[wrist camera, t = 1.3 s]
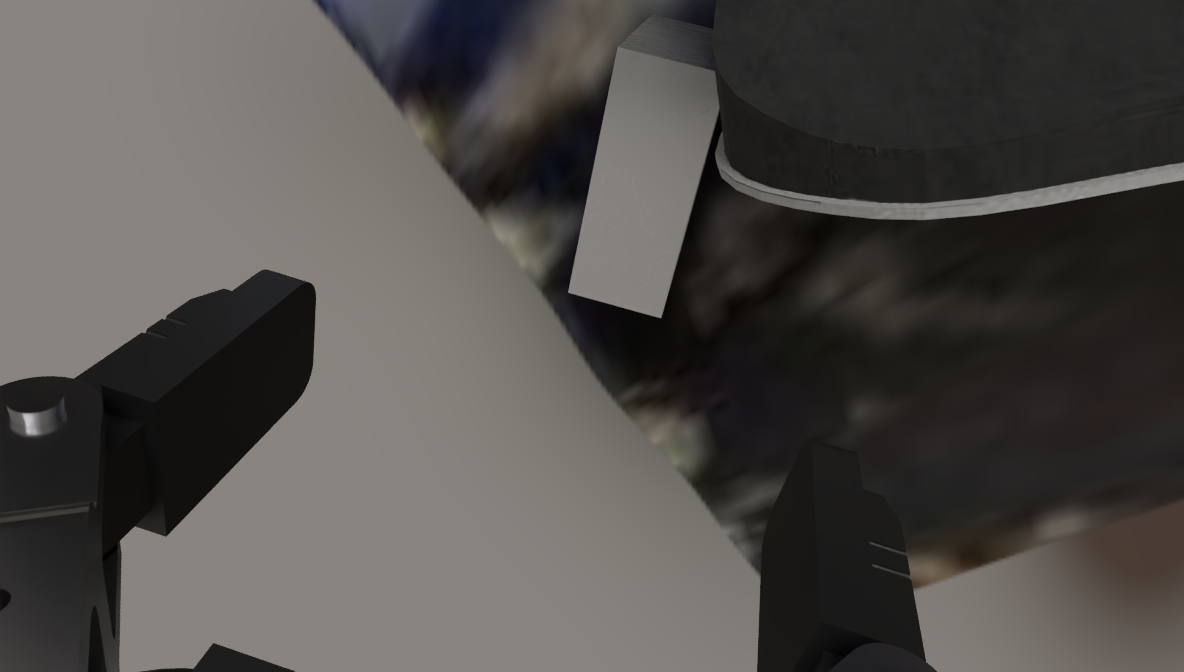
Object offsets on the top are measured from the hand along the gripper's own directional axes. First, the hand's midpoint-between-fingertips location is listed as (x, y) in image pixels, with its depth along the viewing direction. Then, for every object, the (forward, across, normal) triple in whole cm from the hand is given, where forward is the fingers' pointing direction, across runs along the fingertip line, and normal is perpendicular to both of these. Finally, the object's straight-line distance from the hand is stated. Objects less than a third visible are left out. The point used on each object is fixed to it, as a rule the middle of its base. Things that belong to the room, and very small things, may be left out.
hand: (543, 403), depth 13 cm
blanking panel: (+16, 0, 0) cm, 16 cm away
